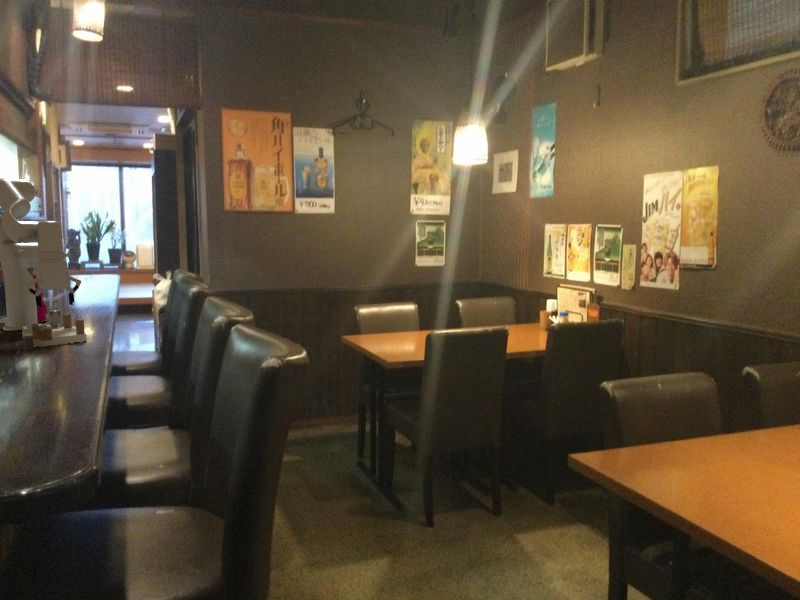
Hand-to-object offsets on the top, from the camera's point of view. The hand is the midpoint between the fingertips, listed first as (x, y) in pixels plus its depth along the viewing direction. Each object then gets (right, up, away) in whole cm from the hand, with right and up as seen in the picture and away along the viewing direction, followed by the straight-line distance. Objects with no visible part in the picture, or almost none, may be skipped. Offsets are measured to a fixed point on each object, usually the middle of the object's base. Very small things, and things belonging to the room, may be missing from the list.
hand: (55, 306), depth 223 cm
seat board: (+7, -11, -15) cm, 20 cm away
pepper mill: (-24, -7, +31) cm, 40 cm away
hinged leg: (+10, -10, -26) cm, 30 cm away
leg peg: (-1, -10, +2) cm, 10 cm away
